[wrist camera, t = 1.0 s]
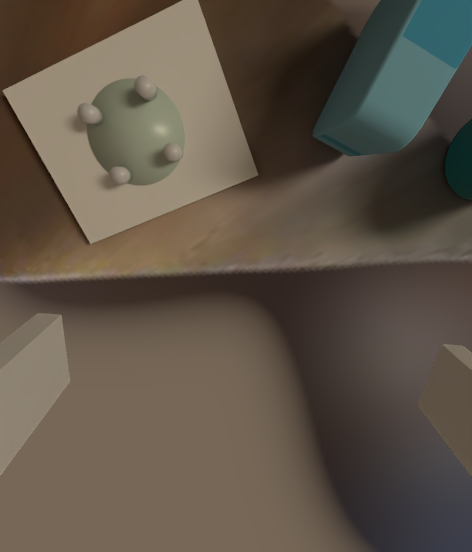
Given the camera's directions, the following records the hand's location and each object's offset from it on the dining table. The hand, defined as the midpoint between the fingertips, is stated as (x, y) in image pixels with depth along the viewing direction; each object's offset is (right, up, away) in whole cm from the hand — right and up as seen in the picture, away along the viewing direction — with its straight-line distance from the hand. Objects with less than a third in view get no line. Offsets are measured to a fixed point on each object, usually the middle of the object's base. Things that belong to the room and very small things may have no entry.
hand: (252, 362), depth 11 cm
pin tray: (-10, +17, +20) cm, 28 cm away
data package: (+12, +22, +19) cm, 31 cm away
